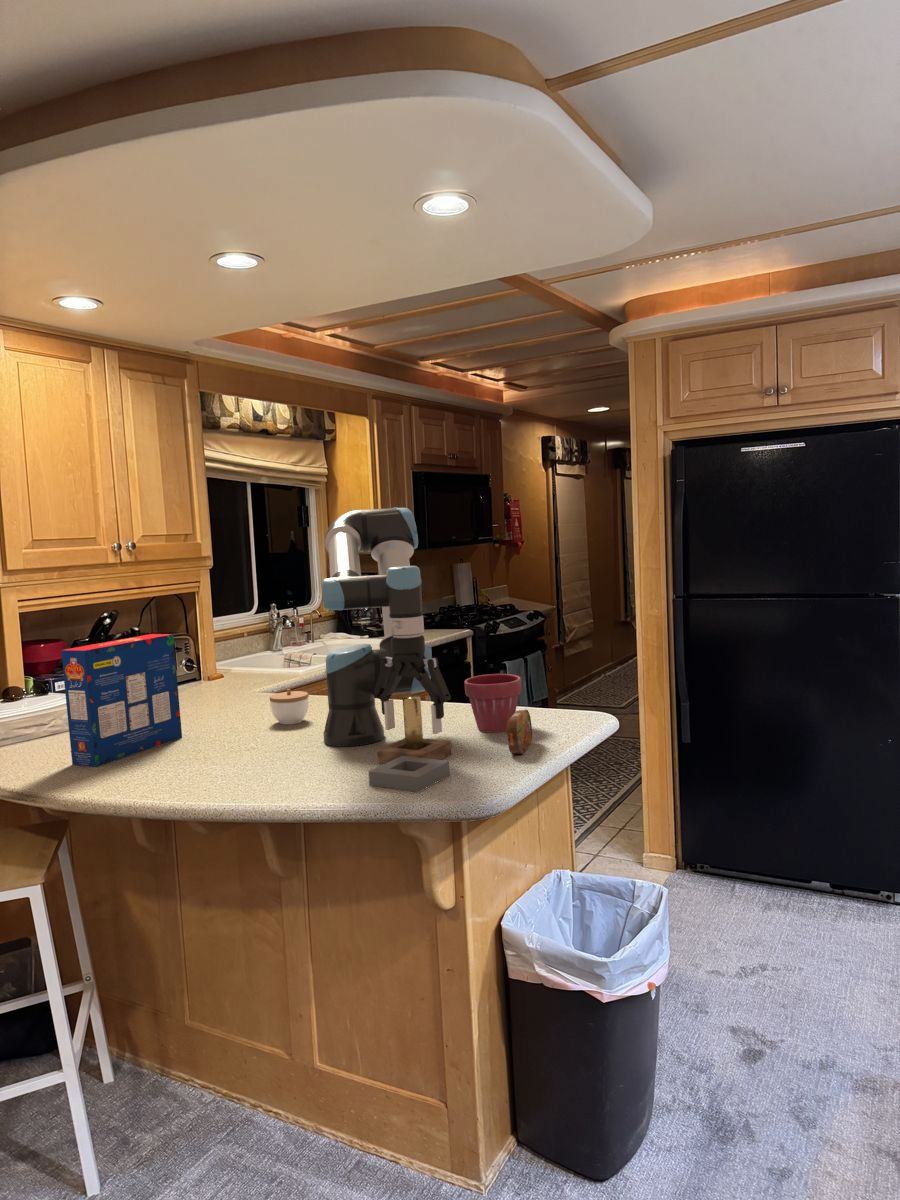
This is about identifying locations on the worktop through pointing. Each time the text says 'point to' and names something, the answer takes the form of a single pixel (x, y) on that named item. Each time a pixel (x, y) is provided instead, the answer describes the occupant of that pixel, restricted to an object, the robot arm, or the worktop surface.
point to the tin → (519, 732)
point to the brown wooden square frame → (429, 750)
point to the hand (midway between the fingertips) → (413, 730)
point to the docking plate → (409, 773)
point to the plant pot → (493, 699)
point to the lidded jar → (289, 706)
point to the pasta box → (121, 698)
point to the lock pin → (413, 722)
